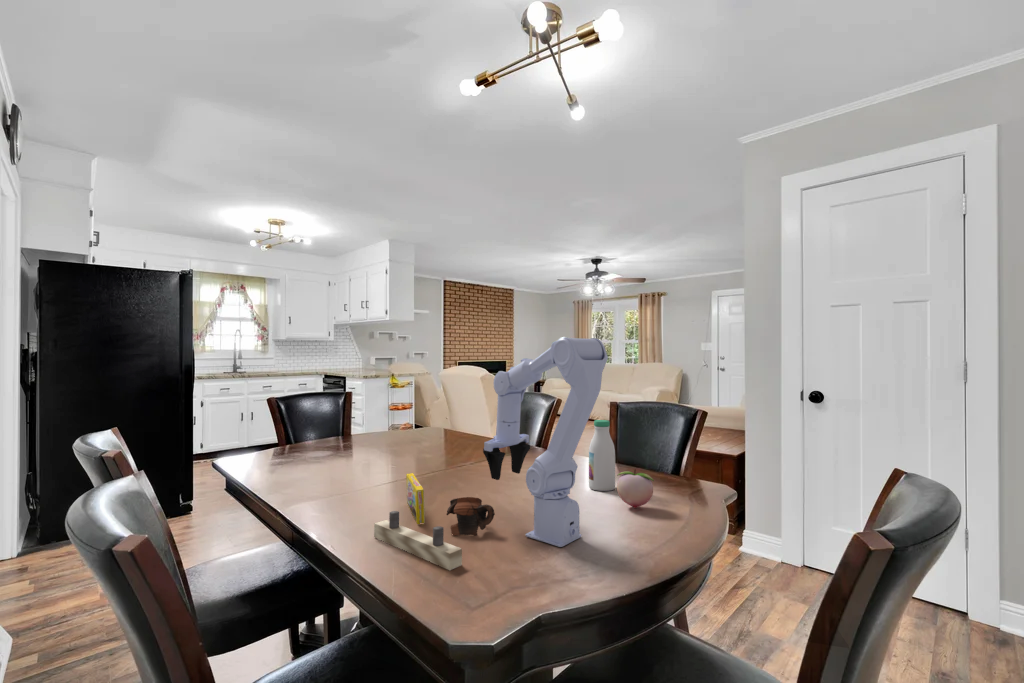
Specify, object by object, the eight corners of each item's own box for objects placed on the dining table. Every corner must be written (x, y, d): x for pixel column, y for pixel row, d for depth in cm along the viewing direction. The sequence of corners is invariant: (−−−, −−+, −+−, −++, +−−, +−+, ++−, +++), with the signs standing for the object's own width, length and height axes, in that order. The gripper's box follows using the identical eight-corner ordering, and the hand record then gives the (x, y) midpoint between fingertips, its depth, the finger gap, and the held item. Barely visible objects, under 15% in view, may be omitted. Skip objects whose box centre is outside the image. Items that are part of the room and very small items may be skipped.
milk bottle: (619, 487, 143) (618, 420, 143) (609, 493, 136) (609, 422, 137) (594, 483, 147) (594, 418, 148) (584, 489, 140) (584, 420, 141)
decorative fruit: (615, 511, 120) (614, 471, 121) (617, 502, 128) (617, 464, 128) (654, 515, 118) (653, 474, 118) (654, 505, 125) (654, 466, 126)
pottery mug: (437, 537, 104) (438, 499, 108) (459, 543, 111) (459, 507, 116) (487, 530, 100) (486, 490, 104) (506, 537, 107) (504, 499, 112)
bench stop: (461, 565, 89) (462, 532, 89) (449, 570, 87) (450, 536, 87) (386, 533, 104) (386, 505, 105) (374, 537, 102) (374, 509, 102)
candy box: (405, 505, 125) (406, 473, 125) (413, 504, 126) (414, 472, 126) (415, 525, 110) (416, 489, 110) (425, 524, 111) (425, 488, 111)
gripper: (515, 414, 125) (512, 466, 125) (475, 421, 114) (473, 477, 114) (536, 419, 120) (533, 472, 121) (497, 426, 109) (495, 485, 110)
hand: (505, 475), depth 117 cm, fingers open, 7 cm apart
